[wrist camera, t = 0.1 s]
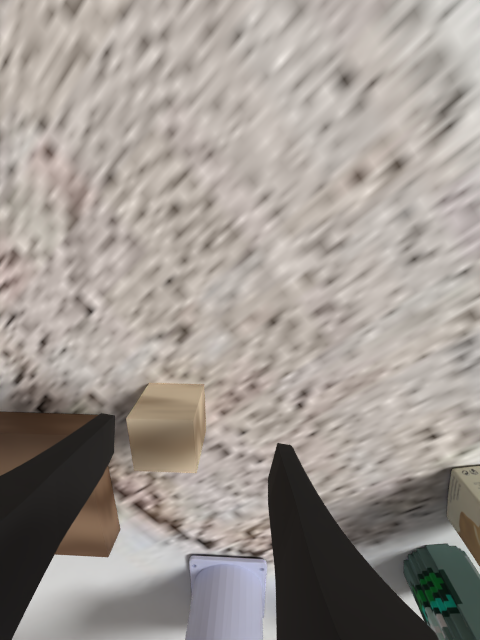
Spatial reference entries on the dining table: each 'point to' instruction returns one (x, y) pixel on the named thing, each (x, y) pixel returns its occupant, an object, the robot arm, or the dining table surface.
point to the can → (446, 591)
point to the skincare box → (466, 506)
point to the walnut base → (37, 436)
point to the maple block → (168, 428)
